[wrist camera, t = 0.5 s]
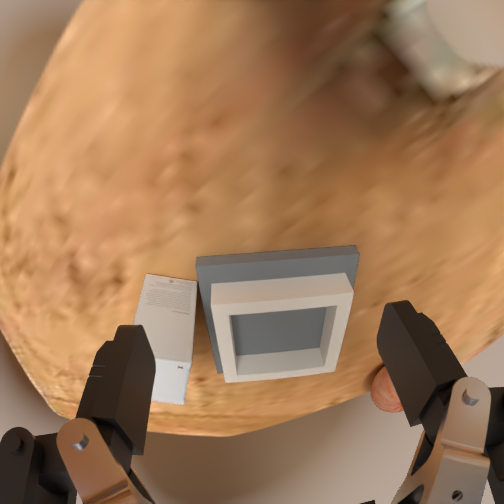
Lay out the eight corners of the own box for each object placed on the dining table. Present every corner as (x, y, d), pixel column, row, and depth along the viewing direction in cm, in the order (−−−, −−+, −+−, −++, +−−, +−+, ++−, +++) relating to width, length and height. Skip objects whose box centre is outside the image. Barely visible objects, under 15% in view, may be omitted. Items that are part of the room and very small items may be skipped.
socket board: (196, 257, 31) (193, 287, 28) (355, 245, 32) (370, 272, 28) (217, 364, 42) (217, 392, 38) (333, 353, 42) (340, 379, 39)
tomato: (352, 376, 47) (365, 418, 40) (406, 337, 42) (426, 380, 36) (385, 389, 51) (397, 425, 45) (432, 356, 47) (450, 392, 40)
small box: (146, 271, 32) (124, 352, 23) (199, 279, 33) (192, 363, 25) (144, 322, 36) (129, 398, 28) (189, 329, 37) (184, 406, 29)
